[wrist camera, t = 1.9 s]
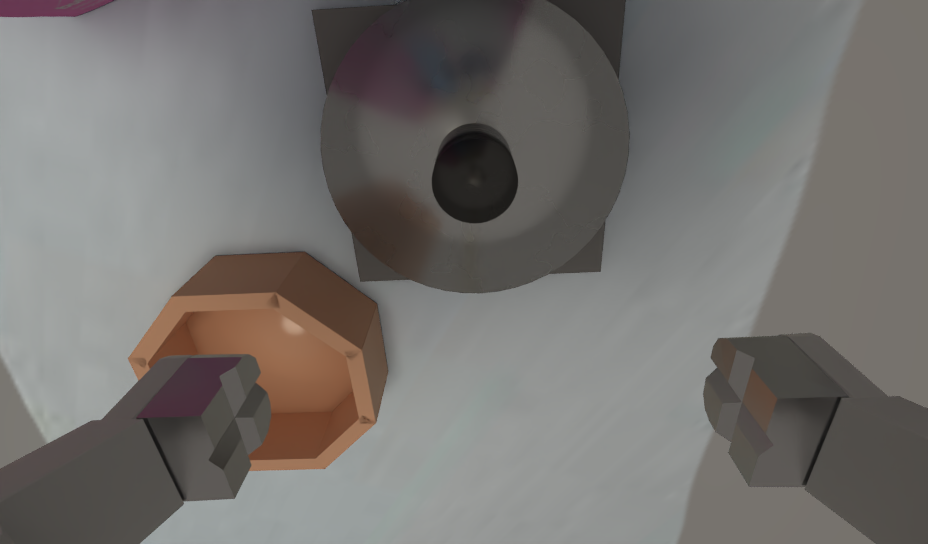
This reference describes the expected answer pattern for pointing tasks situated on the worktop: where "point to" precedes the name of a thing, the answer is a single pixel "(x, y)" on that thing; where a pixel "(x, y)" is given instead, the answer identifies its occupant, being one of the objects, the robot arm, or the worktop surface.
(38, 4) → the gum box
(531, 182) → the lid
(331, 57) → the mat
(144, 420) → the robot arm
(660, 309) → the worktop surface
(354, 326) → the bowl
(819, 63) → the worktop surface
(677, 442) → the worktop surface
